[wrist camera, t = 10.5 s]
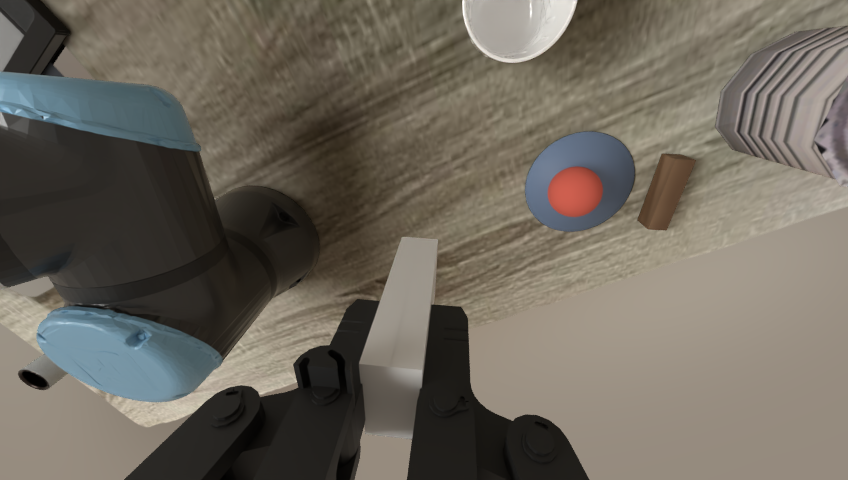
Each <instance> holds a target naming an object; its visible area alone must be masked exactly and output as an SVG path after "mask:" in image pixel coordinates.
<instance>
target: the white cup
mask: <svg viewBox="0 0 848 480" xmlns="http://www.w3.org/2000/svg"><path fill="white" fill-rule="evenodd" d="M577 1H578V0H462V7H463V16H464V21H465V26H466V30H467V33H468V35H469V38H470V40H471V42H472V43H473V45H474V46H475V47H476V49H477V50H478V51H479V52H480V53H482V54H483V55H484V56H486V57H488V58H490V59H493V60H496V61H501V62H507V63H517V62H523V61H527V60H530V59H533V58H535V57H537V56H539V55H540V54H542V53H544V52H545V51H546V50H548V49H549V48H550V47H551V46H552V45H553V44H554V43H555V42H556V41H557V40H558V39H559V38H560V37H561V35H562V34H563V33H564V31H565V30H566V28H567V26H568V25H569V23H570V21H571V19H572V16H573V14H574V11H575V8H576V5H577Z"/></svg>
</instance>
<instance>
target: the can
mask: <svg viewBox="0 0 848 480" xmlns="http://www.w3.org/2000/svg"><path fill="white" fill-rule="evenodd" d="M715 128H716V129H717V130H718V132H719V133H720V134H721V136H722V137H723V138H724V140H725V141H726V142H727V143H728V145H729V146H730V147H731V149H732V150H735V151H739V152H742V153H746V154H749V155H753V156H756V157H760V158H763V159H767V160H770V161H774V162H777V163H781V164H784V165H788V166H791V167H795V168H798V169H802V170H805V171H809V172H812V173H816V174H819V175H823V176H826V177H830V178H833V179H836V180H837V182H838V184H839V185H840V186H843V187H848V26H841V27H833V28H824V29H816V30H807V31H799V32H794V33H792V34H790V35H788V36H786V37H784V38H782V39H780V40H778V41H776V42H774V43H772V44H770V45H768V46H766V47H764V48H762V49H760V50H759V51H757V52H755V53H753V54H751V55H750V56H749V57H748V59H747V60H746V61H745V62H744V63H743V65H742V66H741V67H740V68H739V70H738V71H737V72H736V73H735V75H734V76H733V77H732V78H731V80H730V81H729V82H728V83H727V84H726V86H725V87H724V88H723V89H722V91H721V94H720V100H719V106H718V112H717V118H716V124H715Z"/></svg>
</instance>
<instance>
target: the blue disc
mask: <svg viewBox="0 0 848 480" xmlns="http://www.w3.org/2000/svg"><path fill="white" fill-rule="evenodd" d="M576 166H578V167H585V168H588V169H590V170H592V171H593V172H594V173H596V174H597V175H598V177H599V178H600V180H601V182H602V186H603V194H602V198H601V201H600V202H599V204H598V205H597V207H596V208H595V209H594V210H592V211H591V212H590V213H588V214H586V215H583V216H579V217H568V216H564V215H562V214H560V213H558V212H557V211H556V210H554V209H553V207H552V206H551V204H550V202H549V199H548V187H549V184H550V182H551V180H552V179H553V177H554V176H555V175H556V174H557V173H559V172H560V171H562V170H564V169H566V168H569V167H576ZM634 176H635V170H634V163H633V160H632V157H631V155H630V153H629V151H628V150H627V148H626V147H625V146H624V145H623V144H622V143H621V142H620V141H618V140H617V139H615V138H614V137H612V136H609V135H607V134H604V133H600V132H579V133H574V134H571V135H568V136H565V137H563V138H561V139H559V140H557V141H555V142H554V143H552V144H551V145H549V146H548V147H547V148H546V149H545V150H544V151H543V152H542V153H541V154H540V155H539V156H538V157H537V159H536V160H535V161H534V163H533V165H532V166H531V168H530V171H529V173H528V176H527V180H526V186H525V195H526V201H527V204H528V206H529V208H530V210H531V212H532V213H533V215H534V216H535V217H536V218H537V219H538V220H539V221H540V222H541V223H543V224H544V225H546V226H548V227H550V228H553V229H556V230H560V231H581V230H585V229H589V228H592V227H594V226H597V225H599V224H601V223H603V222H604V221H606V220H607V219H609V218H610V217H611V216H613V215H614V214H615V213H616V212H617V211H618V210H619V209H620V208H621V207H622V205H623V204H624V203H625V201H626V200H627V198H628V196H629V194H630V192H631V189H632V186H633V183H634Z"/></svg>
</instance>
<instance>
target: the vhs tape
mask: <svg viewBox="0 0 848 480" xmlns="http://www.w3.org/2000/svg"><path fill="white" fill-rule="evenodd" d="M69 34H70V32H69V30H68V29H67V28H66V27H65V26H64V25H63V24H62V23H61V22H60V21H59V20H58V19H57V18H56V17H55V16H54V15H53V14H52V13H51V12H50V11H49V9H48V8H47V7H46V6H45V5H44V4H43V3H42V2H41V1H40V0H0V72H13V73H24V74H35V75H40V74H41V73H42V71H43V70H44V68H45V67H46V65H47V64H48V62H49V61H50V62H51V63H52V64H53V65H54V63H55V62H56V60H57V59H58V57H59V56H60V54H61V53H62V51H63V50H64V48H65V45H64V44H63V43H62V41H63V40H64V38H65V37H66V36H68V35H69Z"/></svg>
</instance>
